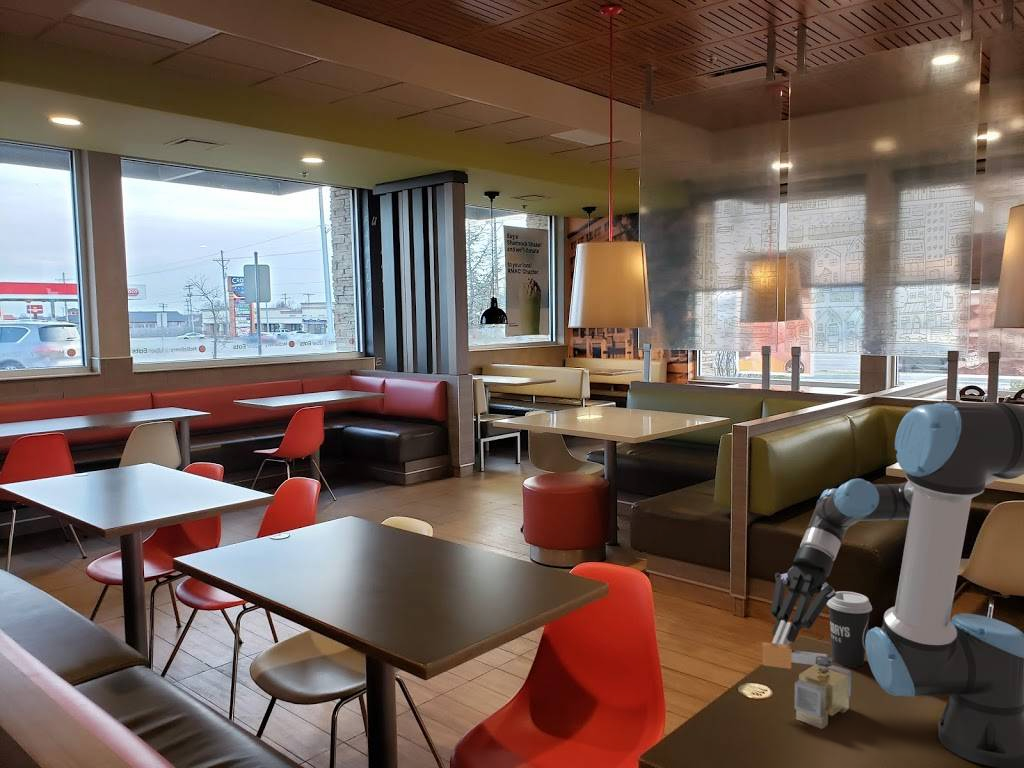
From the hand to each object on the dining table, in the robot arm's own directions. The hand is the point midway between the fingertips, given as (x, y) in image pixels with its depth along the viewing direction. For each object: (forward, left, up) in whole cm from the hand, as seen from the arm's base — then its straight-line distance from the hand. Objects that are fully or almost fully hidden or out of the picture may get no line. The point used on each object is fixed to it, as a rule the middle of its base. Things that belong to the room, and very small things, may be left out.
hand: (777, 652), depth 158 cm
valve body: (-8, -5, -10) cm, 14 cm away
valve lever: (-4, -1, -2) cm, 5 cm away
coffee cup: (+10, -28, -11) cm, 32 cm away
